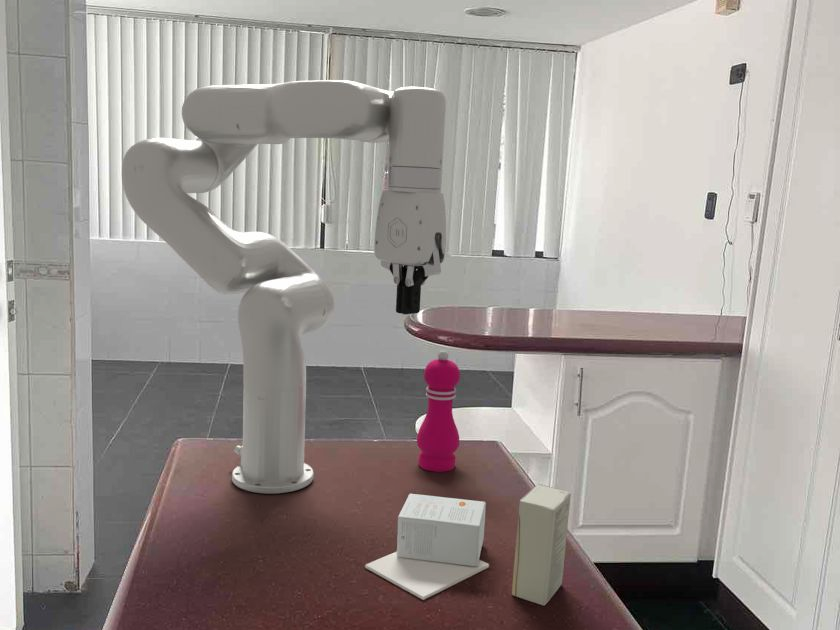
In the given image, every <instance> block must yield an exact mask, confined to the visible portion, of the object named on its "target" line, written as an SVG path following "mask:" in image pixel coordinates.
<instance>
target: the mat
mask: <svg viewBox="0 0 840 630" xmlns="http://www.w3.org/2000/svg"><path fill="white" fill-rule="evenodd" d="M364 568H365V569H367V571H371V572H372V573H374V574H375V575H378V576H379V577H381V578H382V579H385V580H386V581H388V582H390V583H392V584H394V585H395V586H397V587H399V588H400V589H402V590H404V591H406V592H409V594H412V595H414V596H415V597H417V598H419V599H420V600H422V601H425V600H426V599H428V598H431V597H433V596H434V595H437V594H439V593H440V592H442V591H444V590H446V589H448V588H451V587H452V586H454V585H456V584H458V583H460V582H462V581H464V580H466V579H469V578H470V577H473V576H474V575H476V574H478V573H480V572H482V571H484V570H486V569H488V568H490V563H488V562H485V561H483V560H481V559H479V562H478V566H477V567H474V566H467V565H458V564H450V563H442V562H434V561H426V560H418V559H409V558H402V557H397V551H394V552H393V553H390V554H387V555H385V556H382V557H379V558H378V559H376V560H373V561H370V562H369V563H366V564H365V565H364Z"/></svg>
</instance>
